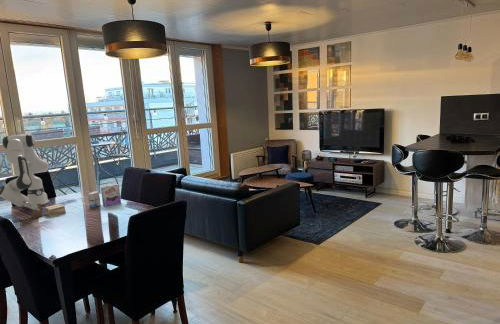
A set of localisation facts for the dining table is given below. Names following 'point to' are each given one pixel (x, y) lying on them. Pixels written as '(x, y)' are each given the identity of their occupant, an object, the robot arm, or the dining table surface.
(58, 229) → the dining table surface
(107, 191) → the candy box
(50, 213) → the beech block
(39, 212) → the walnut pillar
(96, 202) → the ink box
